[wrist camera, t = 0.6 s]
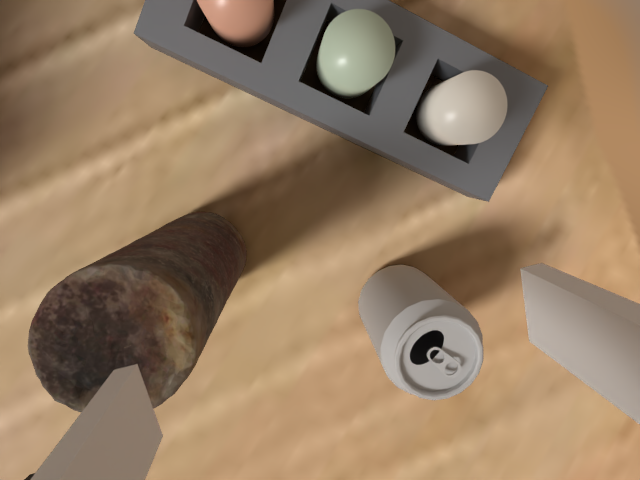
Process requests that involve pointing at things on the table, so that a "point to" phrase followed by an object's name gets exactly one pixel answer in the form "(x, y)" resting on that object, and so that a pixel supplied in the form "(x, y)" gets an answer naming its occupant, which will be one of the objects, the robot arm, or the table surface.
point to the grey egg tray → (387, 98)
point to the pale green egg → (355, 53)
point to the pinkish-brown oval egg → (239, 20)
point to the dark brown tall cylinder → (138, 311)
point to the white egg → (462, 109)
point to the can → (420, 333)
